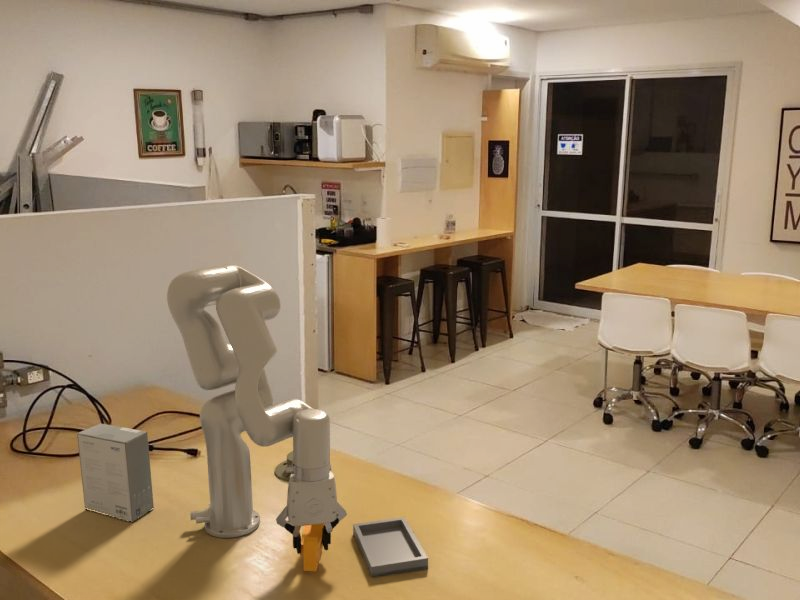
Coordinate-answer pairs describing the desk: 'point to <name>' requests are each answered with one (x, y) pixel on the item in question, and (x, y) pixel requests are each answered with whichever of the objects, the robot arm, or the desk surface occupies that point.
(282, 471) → the flange
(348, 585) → the desk surface
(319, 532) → the orange blocky piece
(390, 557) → the parts tray
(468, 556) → the desk surface
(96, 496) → the hard drive box
